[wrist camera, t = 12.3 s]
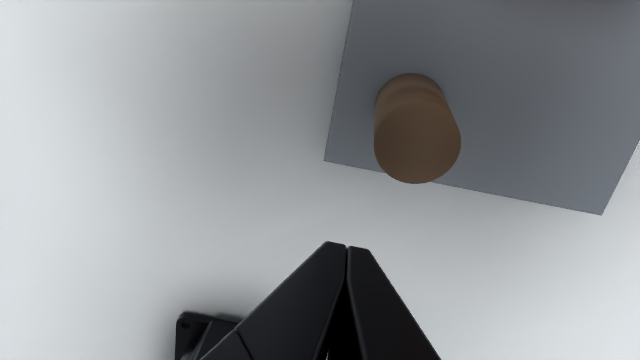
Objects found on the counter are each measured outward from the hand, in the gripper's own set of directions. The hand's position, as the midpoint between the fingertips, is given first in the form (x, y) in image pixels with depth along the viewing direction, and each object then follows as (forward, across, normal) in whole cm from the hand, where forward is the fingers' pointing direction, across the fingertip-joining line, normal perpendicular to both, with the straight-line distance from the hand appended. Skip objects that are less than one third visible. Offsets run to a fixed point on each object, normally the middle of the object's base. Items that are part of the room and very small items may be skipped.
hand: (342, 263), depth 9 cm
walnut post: (+12, -2, 0) cm, 12 cm away
